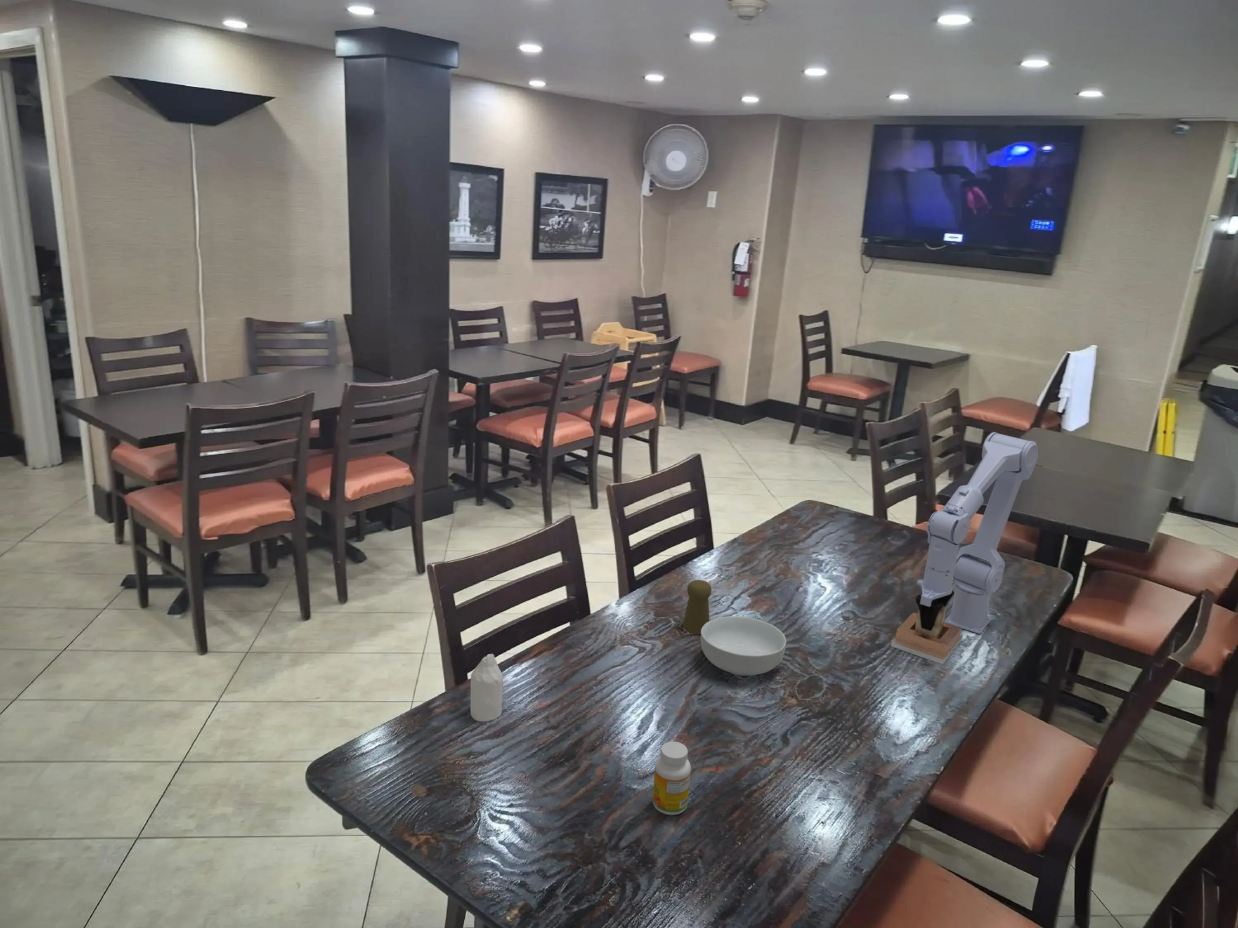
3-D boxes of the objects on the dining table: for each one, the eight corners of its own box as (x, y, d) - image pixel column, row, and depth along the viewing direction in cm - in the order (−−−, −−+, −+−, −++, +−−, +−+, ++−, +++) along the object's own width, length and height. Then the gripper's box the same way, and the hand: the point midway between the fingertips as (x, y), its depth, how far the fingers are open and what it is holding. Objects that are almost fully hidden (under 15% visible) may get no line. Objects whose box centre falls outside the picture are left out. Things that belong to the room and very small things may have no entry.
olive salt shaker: (708, 636, 174) (712, 590, 171) (680, 632, 175) (684, 586, 172) (711, 623, 180) (715, 578, 177) (684, 620, 181) (687, 574, 178)
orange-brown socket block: (912, 623, 185) (914, 609, 184) (962, 639, 178) (964, 625, 177) (890, 646, 174) (893, 631, 173) (942, 664, 168) (945, 649, 167)
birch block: (921, 625, 179) (925, 600, 177) (941, 632, 176) (946, 607, 174) (914, 632, 175) (918, 607, 173) (935, 639, 172) (940, 614, 171)
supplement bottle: (650, 791, 126) (654, 738, 123) (684, 791, 126) (689, 737, 124) (654, 816, 121) (658, 761, 118) (690, 815, 121) (695, 760, 118)
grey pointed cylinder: (481, 641, 144) (509, 648, 142) (481, 699, 147) (508, 707, 146) (463, 656, 139) (492, 664, 137) (464, 717, 142) (492, 725, 140)
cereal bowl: (791, 657, 167) (795, 627, 165) (770, 697, 153) (774, 664, 151) (713, 637, 174) (716, 607, 172) (686, 673, 160) (689, 641, 157)
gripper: (932, 551, 179) (922, 607, 183) (910, 571, 168) (900, 630, 172) (965, 560, 175) (954, 617, 179) (944, 581, 164) (934, 641, 168)
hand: (930, 624), depth 175 cm, fingers closed on birch block, 4 cm apart
